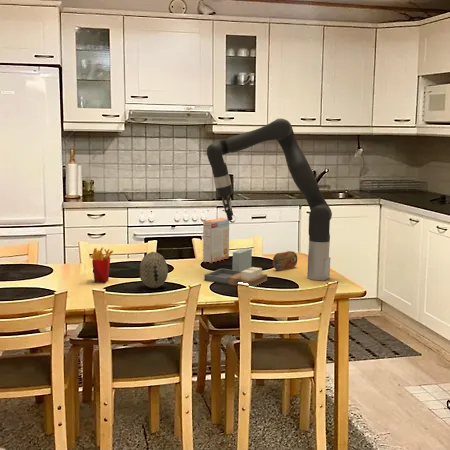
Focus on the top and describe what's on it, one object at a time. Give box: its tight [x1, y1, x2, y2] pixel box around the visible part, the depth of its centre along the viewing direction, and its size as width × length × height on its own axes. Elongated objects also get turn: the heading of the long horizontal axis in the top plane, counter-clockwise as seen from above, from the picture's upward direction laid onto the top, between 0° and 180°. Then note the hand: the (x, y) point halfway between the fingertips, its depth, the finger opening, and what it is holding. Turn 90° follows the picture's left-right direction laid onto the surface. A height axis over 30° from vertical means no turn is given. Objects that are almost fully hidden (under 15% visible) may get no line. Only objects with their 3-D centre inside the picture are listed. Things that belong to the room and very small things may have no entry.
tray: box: [203, 267, 241, 285], centre depth 272 cm, size 11×15×3 cm
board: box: [226, 272, 268, 287], centre depth 266 cm, size 12×14×3 cm
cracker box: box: [202, 217, 230, 264], centre depth 307 cm, size 14×6×21 cm, turn 141°
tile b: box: [241, 269, 256, 280], centre depth 262 cm, size 4×4×3 cm
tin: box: [272, 250, 298, 271], centre depth 294 cm, size 15×3×8 cm, turn 131°
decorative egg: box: [138, 251, 169, 289], centre depth 253 cm, size 12×12×15 cm
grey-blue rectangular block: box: [231, 247, 253, 271], centre depth 286 cm, size 4×12×10 cm, turn 150°
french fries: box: [91, 246, 114, 284], centre depth 260 cm, size 9×8×15 cm
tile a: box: [248, 266, 263, 277], centre depth 267 cm, size 4×4×3 cm
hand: (230, 218), depth 289 cm, fingers open, 8 cm apart
